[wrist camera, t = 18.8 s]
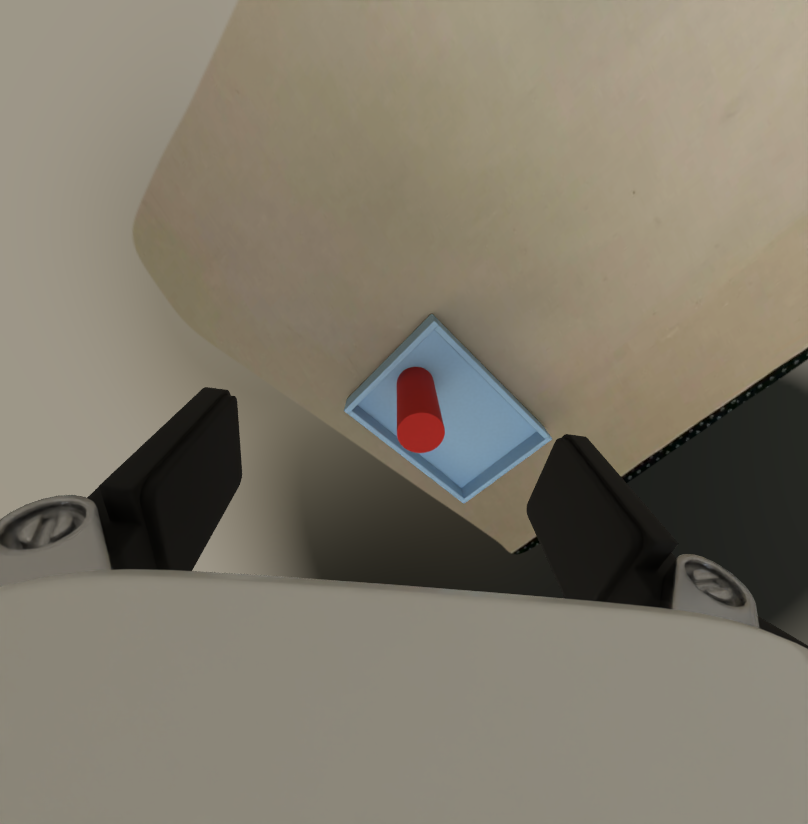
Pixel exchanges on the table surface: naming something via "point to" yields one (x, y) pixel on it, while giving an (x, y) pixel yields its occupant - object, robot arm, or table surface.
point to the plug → (418, 411)
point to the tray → (451, 413)
